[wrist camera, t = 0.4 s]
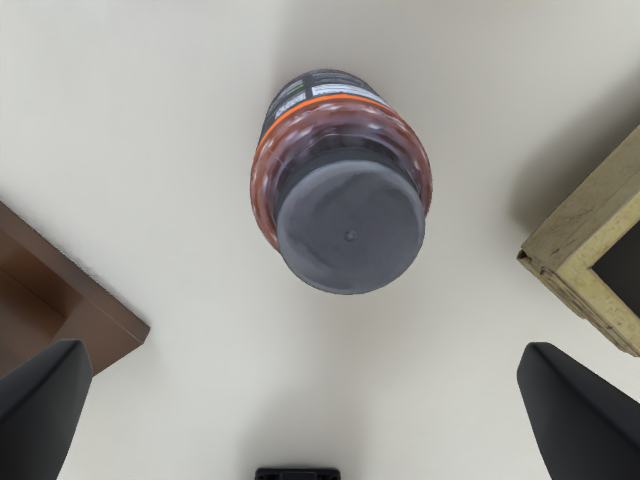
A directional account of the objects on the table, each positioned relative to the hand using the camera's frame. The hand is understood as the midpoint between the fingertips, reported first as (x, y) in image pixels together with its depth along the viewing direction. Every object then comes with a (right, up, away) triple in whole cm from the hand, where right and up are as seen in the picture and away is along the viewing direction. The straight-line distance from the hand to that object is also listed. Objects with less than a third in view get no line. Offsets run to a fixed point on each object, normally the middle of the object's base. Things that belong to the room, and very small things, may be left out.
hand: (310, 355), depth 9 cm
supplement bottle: (0, +8, +13) cm, 15 cm away
